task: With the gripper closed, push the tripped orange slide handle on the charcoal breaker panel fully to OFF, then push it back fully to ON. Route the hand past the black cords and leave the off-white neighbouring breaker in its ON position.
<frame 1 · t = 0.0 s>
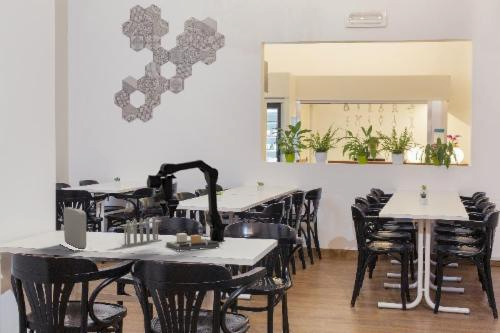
hand: (167, 217, 378), 15 cm above the table, tool pointing down, fingers open, 9 cm apart
wireless router: (75, 247, 377), on the table
breaker b: (181, 237, 376), point 4 cm above the table, slide at 4.0 cm
breaker panel: (192, 246, 373), on the table
breaker a: (195, 239, 369), point 4 cm above the table, slide at 0.0 cm
test tube rack: (141, 243, 387), on the table
cord bundle: (198, 243, 366), on the breaker panel, point 2 cm above the table
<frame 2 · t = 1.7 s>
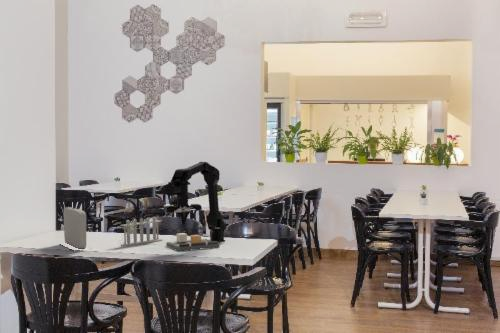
hand: (182, 225, 366), 12 cm above the table, tool pointing down, fingers closed
nothing on the table moved.
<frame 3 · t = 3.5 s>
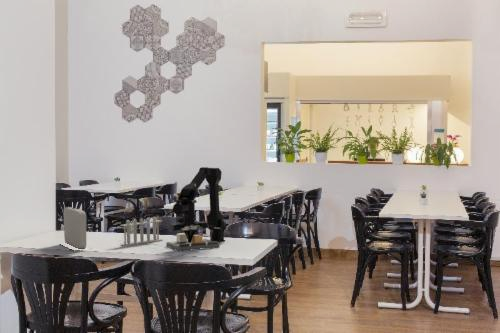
hand: (189, 242, 368), 3 cm above the table, tool pointing down, fingers closed
breaker a: (197, 239, 370), point 4 cm above the table, slide at -0.7 cm, touching gripper
everything else where it was.
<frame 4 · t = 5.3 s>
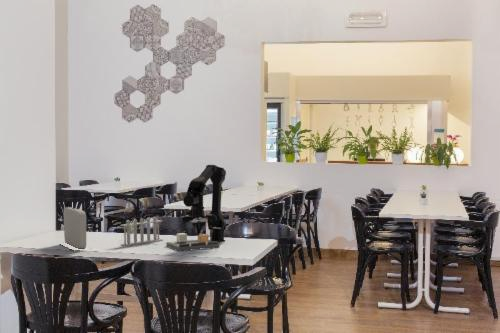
hand: (197, 235, 370), 6 cm above the table, tool pointing down, fingers closed
breaker a: (203, 238, 371), point 4 cm above the table, slide at -4.1 cm
everything else where it was.
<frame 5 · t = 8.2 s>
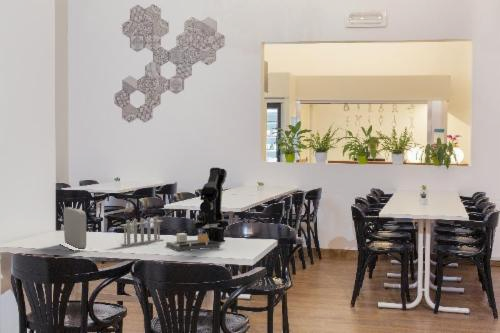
hand: (210, 240, 373), 3 cm above the table, tool pointing down, fingers closed
breaker a: (202, 238, 371), point 4 cm above the table, slide at -3.9 cm, touching gripper
everything else where it was.
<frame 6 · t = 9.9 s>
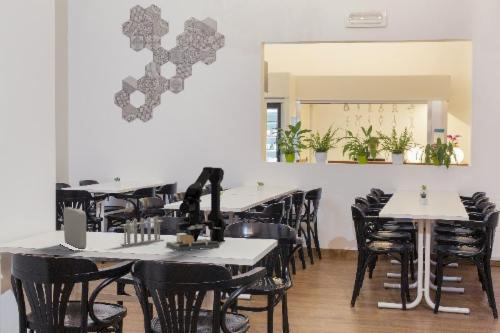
hand: (195, 242, 369), 3 cm above the table, tool pointing down, fingers closed
breaker a: (188, 240, 367), point 4 cm above the table, slide at 4.2 cm, touching gripper
everything else where it was.
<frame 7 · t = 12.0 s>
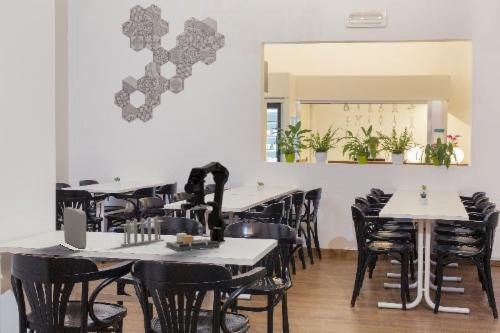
hand: (199, 222, 373), 13 cm above the table, tool pointing down, fingers closed
breaker a: (188, 240, 367), point 4 cm above the table, slide at 4.1 cm
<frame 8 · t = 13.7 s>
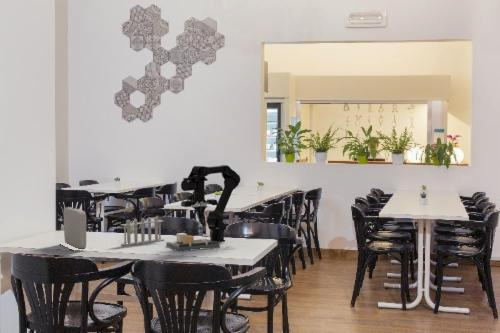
hand: (199, 219, 382), 13 cm above the table, tool pointing down, fingers closed
at the end: breaker a slide at 4.1 cm; breaker b slide at 4.0 cm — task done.
